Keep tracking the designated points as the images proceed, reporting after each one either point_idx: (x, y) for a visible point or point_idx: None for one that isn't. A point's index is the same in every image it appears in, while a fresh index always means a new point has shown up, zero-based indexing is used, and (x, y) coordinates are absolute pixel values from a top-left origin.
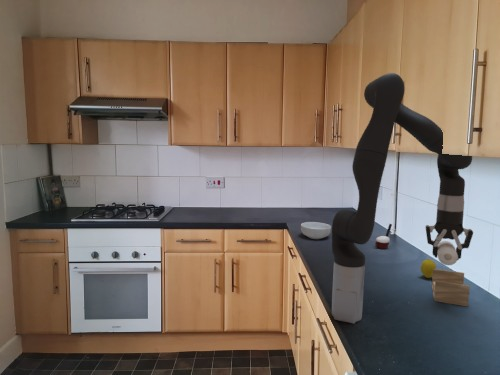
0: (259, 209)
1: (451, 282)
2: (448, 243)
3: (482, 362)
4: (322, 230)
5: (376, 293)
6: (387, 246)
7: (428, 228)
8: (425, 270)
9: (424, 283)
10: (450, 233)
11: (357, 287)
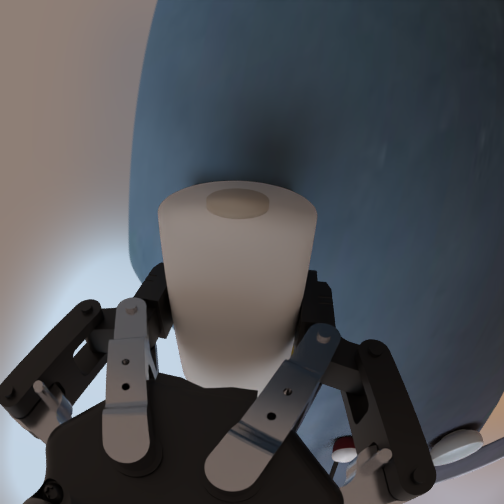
0: (474, 467)
1: None
2: (211, 370)
3: None
4: (455, 446)
5: (462, 199)
6: (336, 442)
7: (414, 478)
8: (291, 354)
9: None
10: (170, 433)
11: None
